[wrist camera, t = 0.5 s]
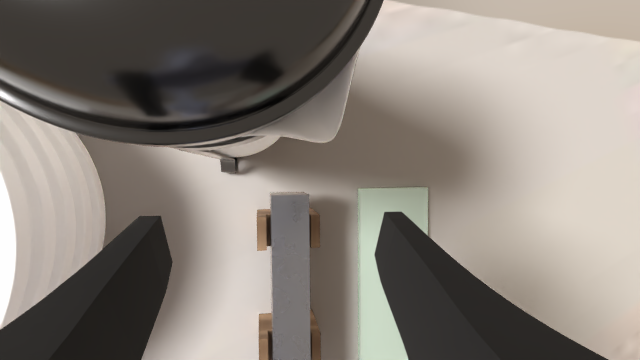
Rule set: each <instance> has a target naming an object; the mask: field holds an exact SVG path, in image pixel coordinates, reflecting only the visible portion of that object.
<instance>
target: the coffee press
mask: <svg viewBox="0 0 640 360" xmlns="http://www.w3.org/2000/svg"><path fill="white" fill-rule="evenodd" d="M383 1H384V0H0V101H2V102H3V103H5V104H7V105H9V106H11V107H13V108H15V109H17V110H19V111H21V112H23V113H25V114H27V115H29V116H32V117H34V118H36V119H39V120H41V121H43V122H46V123H48V124H51V125H54V126H57V127H59V128H62V129H65V130H69V131H72V132H75V133H79V134H82V135H86V136H90V137H94V138H99V139H103V140H109V141H114V142H120V143H126V144H133V145H141V146H154V147H169V148H174V149H179V150H181V151H185V152H190V153H194V154H199V155H203V156H208V157H212V158H217V159H220V162H221V171H222V172H227V173H236V168H237V157H243V156H248V155H252V154H255V153H258V152H260V151H262V150H264V149H266V148H268V147H269V146H271V145H272V144H273V143H275V142H276V141H277V140H278V139H279V138H280V137H281V136H282V137H290V138H295V139H300V140H305V141H310V142H316V143H326V142H329V141H331V140H333V138H334V137H335V136H336V134H337V132H338V130H339V128H340V125H341V122H342V119H343V115H344V112H345V108H346V103H347V99H348V95H349V90H350V86H351V81H352V77H353V73H354V69H355V65H356V61H357V57H358V54H359V50H360V46H361V45H362V43H363V42H364V40H365V38H366V37H367V35H368V33H369V31H370V30H371V28H372V26H373V24H374V22H375V20H376V18H377V15H378V13H379V11H380V8H381V6H382V3H383Z"/></svg>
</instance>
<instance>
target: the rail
mask: <svg viewBox="0 0 640 360" xmlns="http://www.w3.org/2000/svg"><path fill="white" fill-rule="evenodd" d="M270 236H271V308H272V360H311V350H310V240H309V194H307V193H305V192H277V193H270Z"/></svg>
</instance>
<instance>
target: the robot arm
mask: <svg viewBox="0 0 640 360" xmlns="http://www.w3.org/2000/svg"><path fill="white" fill-rule="evenodd" d="M374 255H375V260H376V264H377V269H378V273H379V277H380V281H381V284H382V287H383V290H384V293H385V295H386V298H387V301H388V304H389V306H390V309H391V312H392V314H393V317H394V320H395V323H396V325H397V328H398V331H399V333H400V336H401V339H402V341H403V344H404V347H405V350H406V353H407V356H408V360H608V359H606V358H604V357H602V356H600V355H598V354H596V353H595V352H593V351H591V350H589V349H587V348H585V347H584V346H582V345H580V344H578V343H576V342H575V341H573V340H571V339H569V338H567V337H566V336H564V335H562V334H560V333H559V332H557V331H555V330H554V329H552V328H550V327H548V326H547V325H545V324H544V323H542V322H540V321H539V320H537V319H536V318H534V317H532V316H531V315H529V314H528V313H526V312H524V311H523V310H521V309H520V308H518V307H517V306H515V305H514V304H512V303H511V302H509V301H508V300H506V299H505V298H504V297H502V296H501V295H499V294H498V293H497V292H495V291H494V290H492V289H491V288H490V287H488V286H487V285H486V284H484V283H483V282H482V281H480V280H479V279H478V278H476V277H475V276H474V275H473V274H471V273H470V272H469V271H468V270H466V269H465V268H464V267H463V266H461V265H460V264H459V263H458V262H457V261H456V260H454V259H453V258H452V257H451V256H450V255H449V254H447V253H446V252H445V251H444V250H443V249H442V248H441V247H440V246H438V245H437V244H436V243H435V242H434V241H433V240H432V239H431V238H430V237H429V236H428V235H426V234H425V233H424V232H423V231H422V230H421V229H420V228H419V227H418V226H417V225H416V224H415V223H414V222H413V221H412V220H410V219H409V218H408V217H407V216H406V215H405V214H404V213H403V212H402V211H401V212H384V216H383V220H382V224H381V228H380V233H379V237H378V241H377V245H376V250H375V254H374ZM171 267H172V258H171V255H170V251H169V247H168V243H167V239H166V235H165V231H164V227H163V224H162V220H161V216H139V217H138V218H137V219H136V220H135V221H134V222H133V223H131V224H130V225H129V226H128V227H127V228H126V229H125V230H124V231H123V232H121V233H120V234H119V235H118V236H117V237H116V238H115V239H114V240H113V241H111V242H110V243H109V244H108V245H107V246H106V247H105V248H104V249H103V250H101V251H100V252H99V253H98V254H97V255H96V256H95V257H93V258H92V259H91V260H90V261H89V262H88V263H86V264H85V265H84V266H83V267H82V268H81V269H79V270H78V271H77V272H76V273H74V274H73V275H72V276H71V277H70V278H68V279H67V280H66V281H65V282H63V283H62V284H61V285H60V286H58V287H57V288H56V289H55V290H53V291H52V292H51V293H50V294H48V295H47V296H46V297H45V298H43V299H42V300H41V301H39V302H38V303H37V304H35V305H34V306H33V307H31V308H30V309H29V310H27V311H26V312H25V313H23V314H22V315H20V316H19V317H18V318H16V319H15V320H13V321H12V322H10V323H9V324H8V325H6V326H5V327H3V328H2V329H0V360H141V358H142V356H143V353H144V350H145V348H146V345H147V342H148V339H149V337H150V334H151V331H152V329H153V326H154V323H155V321H156V318H157V315H158V312H159V310H160V307H161V304H162V301H163V298H164V296H165V293H166V289H167V285H168V280H169V276H170V271H171Z"/></svg>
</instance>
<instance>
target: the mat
mask: <svg viewBox="0 0 640 360" xmlns="http://www.w3.org/2000/svg"><path fill="white" fill-rule="evenodd" d="M401 211H402V212H403V213H404V214H405V215H406V216H407V217H408V218H409V219H410V220H412V221H413V222H414V223H415V224H416V225H417V226H418V227H419V228H420V229H421V230H422V231H423V232H424V233H425V234H426V235H428V187H399V188H358V360H408V356H407V353H406V350H405V347H404V344H403V341H402V339H401V336H400V333H399V331H398V328H397V325H396V323H395V320H394V317H393V314H392V312H391V309H390V306H389V304H388V301H387V298H386V295H385V293H384V290H383V287H382V284H381V281H380V277H379V273H378V269H377V264H376V260H375V255H374V254H375V250H376V245H377V241H378V237H379V233H380V228H381V224H382V220H383V216H384V212H401Z"/></svg>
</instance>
